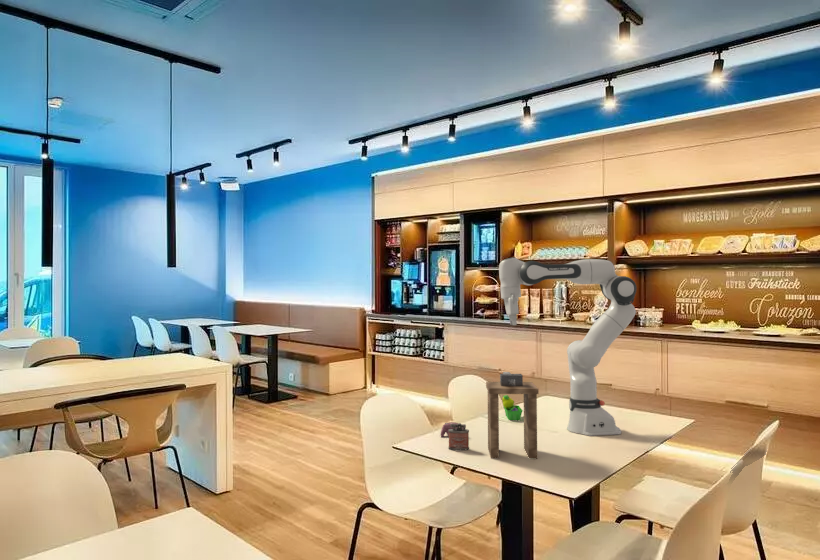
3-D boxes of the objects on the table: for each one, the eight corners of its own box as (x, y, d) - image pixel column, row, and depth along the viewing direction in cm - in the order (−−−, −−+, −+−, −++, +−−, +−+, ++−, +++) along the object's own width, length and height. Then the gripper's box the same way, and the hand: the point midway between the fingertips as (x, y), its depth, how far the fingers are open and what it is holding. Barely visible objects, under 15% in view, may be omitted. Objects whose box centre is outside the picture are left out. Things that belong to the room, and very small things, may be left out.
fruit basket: (523, 421, 256) (522, 397, 256) (504, 421, 256) (504, 397, 256) (518, 415, 267) (518, 392, 267) (500, 415, 267) (500, 392, 267)
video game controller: (464, 440, 229) (466, 424, 232) (462, 438, 226) (463, 421, 229) (441, 438, 233) (443, 422, 236) (439, 436, 229) (441, 419, 232)
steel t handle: (516, 378, 222) (516, 368, 222) (522, 386, 204) (522, 375, 204) (496, 378, 223) (496, 368, 223) (501, 386, 205) (501, 375, 205)
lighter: (469, 448, 214) (468, 422, 214) (469, 450, 210) (468, 424, 210) (448, 447, 214) (448, 422, 215) (448, 450, 211) (448, 424, 211)
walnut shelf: (532, 448, 213) (532, 382, 213) (539, 459, 199) (538, 388, 199) (486, 447, 214) (486, 381, 214) (489, 459, 200) (489, 388, 200)
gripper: (520, 292, 231) (523, 324, 230) (515, 294, 252) (518, 324, 250) (505, 293, 232) (508, 325, 231) (502, 295, 252) (504, 325, 251)
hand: (513, 325), depth 241 cm, fingers open, 8 cm apart
